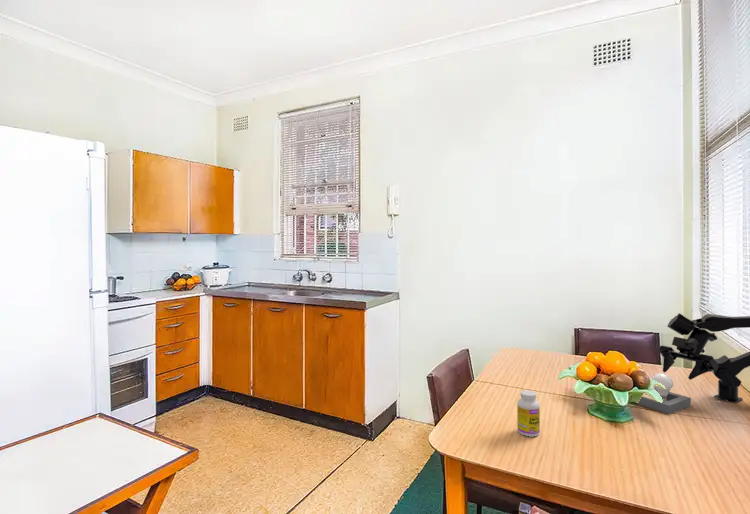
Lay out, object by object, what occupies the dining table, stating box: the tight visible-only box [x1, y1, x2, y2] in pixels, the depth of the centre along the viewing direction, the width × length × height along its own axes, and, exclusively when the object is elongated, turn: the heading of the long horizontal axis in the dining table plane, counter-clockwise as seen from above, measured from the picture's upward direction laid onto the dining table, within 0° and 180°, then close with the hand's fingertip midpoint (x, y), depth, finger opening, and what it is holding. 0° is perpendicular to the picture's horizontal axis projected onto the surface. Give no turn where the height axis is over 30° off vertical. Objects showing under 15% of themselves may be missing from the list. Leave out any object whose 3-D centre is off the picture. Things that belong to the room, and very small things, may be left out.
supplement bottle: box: [516, 389, 541, 438], centre depth 131 cm, size 7×7×13 cm
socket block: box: [637, 387, 692, 415], centre depth 151 cm, size 14×13×3 cm
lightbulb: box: [651, 373, 674, 401], centre depth 151 cm, size 6×6×11 cm
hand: (676, 375), depth 154 cm, fingers open, 9 cm apart
